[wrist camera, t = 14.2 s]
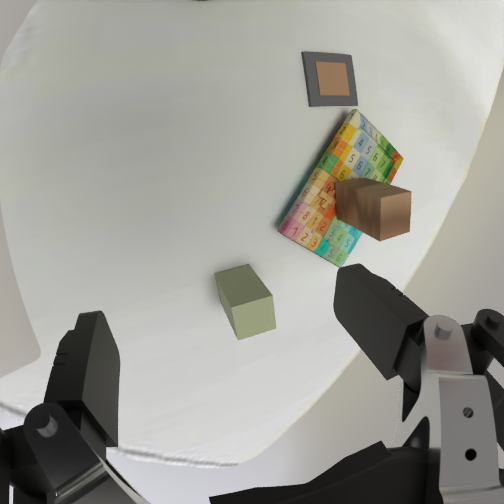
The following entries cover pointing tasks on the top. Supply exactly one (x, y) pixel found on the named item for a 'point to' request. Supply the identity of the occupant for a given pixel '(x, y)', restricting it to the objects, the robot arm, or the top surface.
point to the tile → (329, 79)
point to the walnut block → (374, 207)
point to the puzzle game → (324, 192)
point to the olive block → (246, 301)
